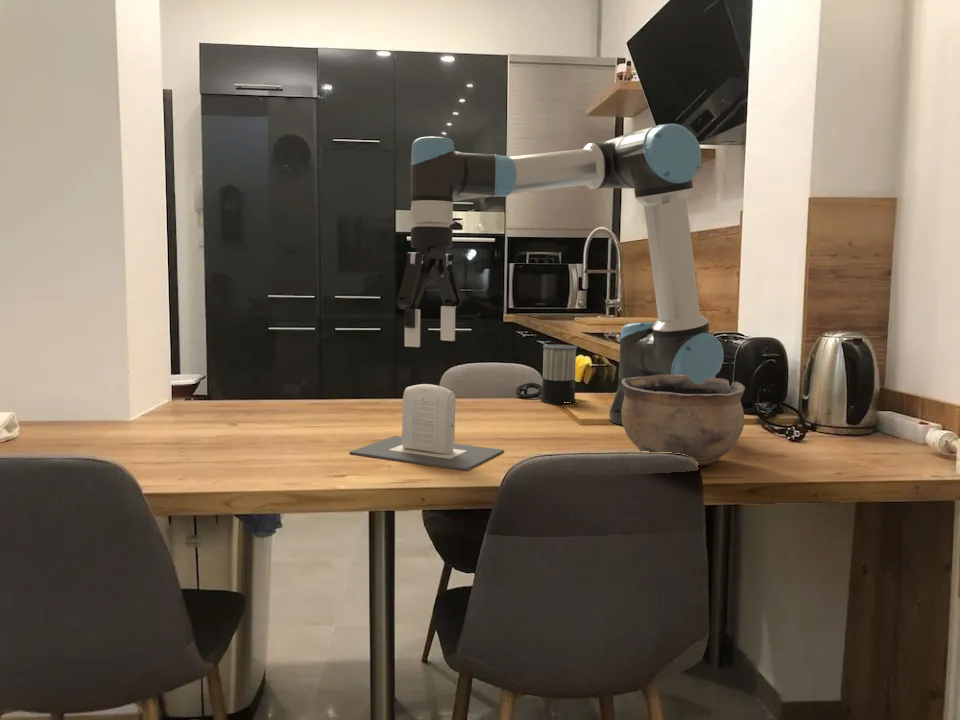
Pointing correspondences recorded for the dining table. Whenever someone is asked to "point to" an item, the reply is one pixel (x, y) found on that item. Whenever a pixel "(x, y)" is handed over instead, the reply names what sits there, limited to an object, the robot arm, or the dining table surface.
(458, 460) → the mat
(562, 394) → the milk frother
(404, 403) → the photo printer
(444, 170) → the robot arm
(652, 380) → the ceramic bowl
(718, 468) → the dining table surface
